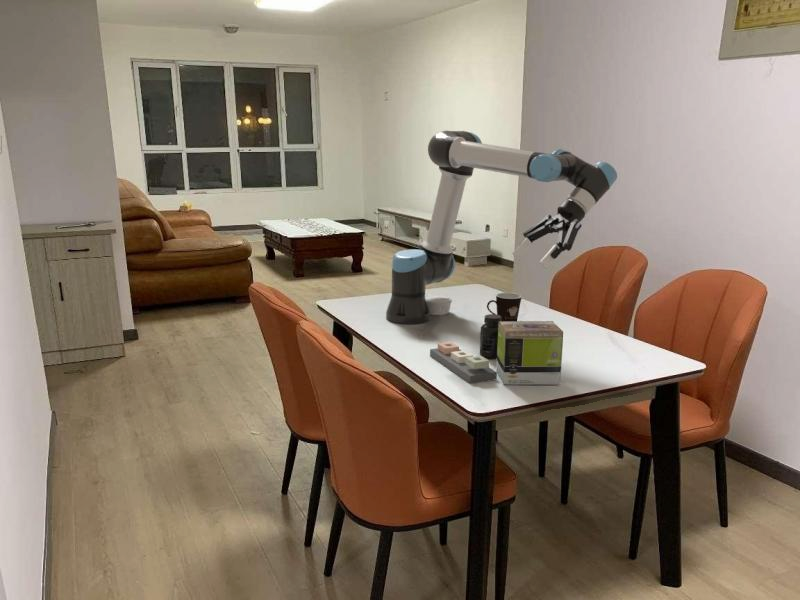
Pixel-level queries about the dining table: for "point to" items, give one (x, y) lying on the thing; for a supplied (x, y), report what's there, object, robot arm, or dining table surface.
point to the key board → (463, 368)
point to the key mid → (460, 356)
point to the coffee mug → (507, 306)
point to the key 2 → (477, 362)
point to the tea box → (529, 352)
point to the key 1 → (448, 347)
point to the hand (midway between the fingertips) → (528, 260)
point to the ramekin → (438, 304)
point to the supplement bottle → (489, 336)
